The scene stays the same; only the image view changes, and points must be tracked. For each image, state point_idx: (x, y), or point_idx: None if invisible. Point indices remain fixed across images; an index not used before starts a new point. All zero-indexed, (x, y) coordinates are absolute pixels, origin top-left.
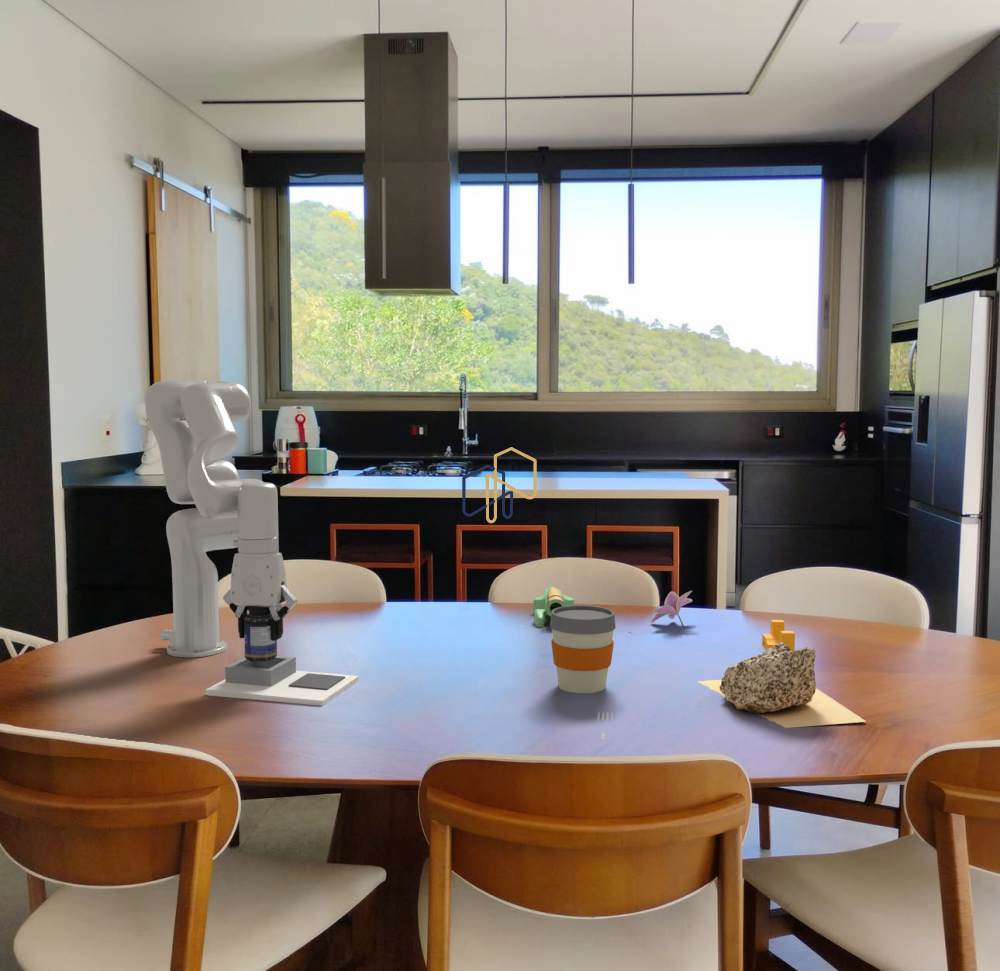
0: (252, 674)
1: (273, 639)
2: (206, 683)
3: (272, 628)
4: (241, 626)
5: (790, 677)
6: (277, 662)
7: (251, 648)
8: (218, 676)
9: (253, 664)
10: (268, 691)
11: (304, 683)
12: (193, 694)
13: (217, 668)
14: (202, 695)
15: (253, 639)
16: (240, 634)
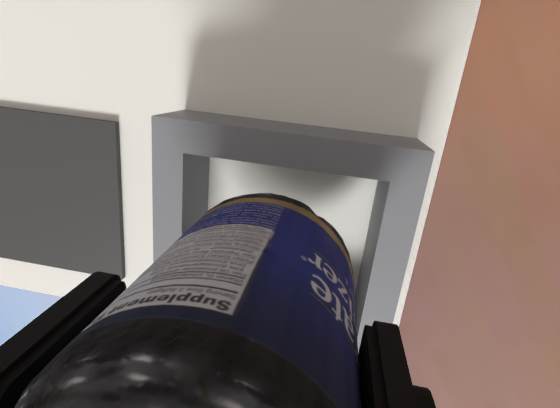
0: (265, 126)
1: (97, 272)
2: (528, 192)
3: (38, 329)
4: (387, 398)
5: None
6: None
7: (271, 221)
8: (502, 288)
9: None
10: (163, 34)
11: (67, 152)
12: (544, 17)
13: (541, 382)
14: (490, 10)
15: (233, 243)
16: (389, 337)
